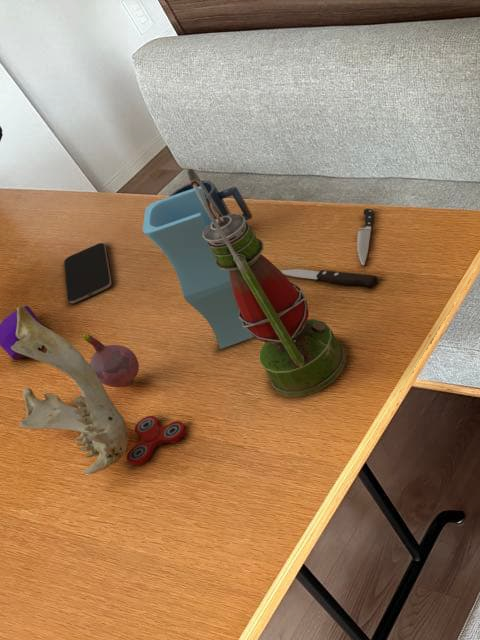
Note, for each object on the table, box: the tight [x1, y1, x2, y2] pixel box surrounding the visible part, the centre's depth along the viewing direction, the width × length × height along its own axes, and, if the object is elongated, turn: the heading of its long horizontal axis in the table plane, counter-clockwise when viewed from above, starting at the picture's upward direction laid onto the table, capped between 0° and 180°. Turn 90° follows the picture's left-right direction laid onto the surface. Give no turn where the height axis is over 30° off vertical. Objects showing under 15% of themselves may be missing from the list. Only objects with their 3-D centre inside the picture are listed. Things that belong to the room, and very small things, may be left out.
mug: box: [168, 179, 253, 222], centre depth 132 cm, size 11×8×9 cm
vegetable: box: [82, 333, 140, 388], centre depth 110 cm, size 6×6×10 cm
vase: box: [142, 186, 255, 350], centre depth 110 cm, size 8×8×20 cm
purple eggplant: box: [0, 305, 41, 360], centre depth 125 cm, size 5×5×15 cm
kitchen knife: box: [280, 268, 379, 288], centre depth 120 cm, size 18×1×2 cm
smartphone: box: [64, 242, 113, 304], centre depth 136 cm, size 7×1×15 cm
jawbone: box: [11, 305, 129, 475], centre depth 104 cm, size 25×18×10 cm
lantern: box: [186, 168, 347, 398], centre depth 97 cm, size 14×11×30 cm
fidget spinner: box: [126, 415, 187, 466], centre depth 104 cm, size 8×7×1 cm
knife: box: [356, 208, 374, 266], centre depth 125 cm, size 15×1×2 cm
